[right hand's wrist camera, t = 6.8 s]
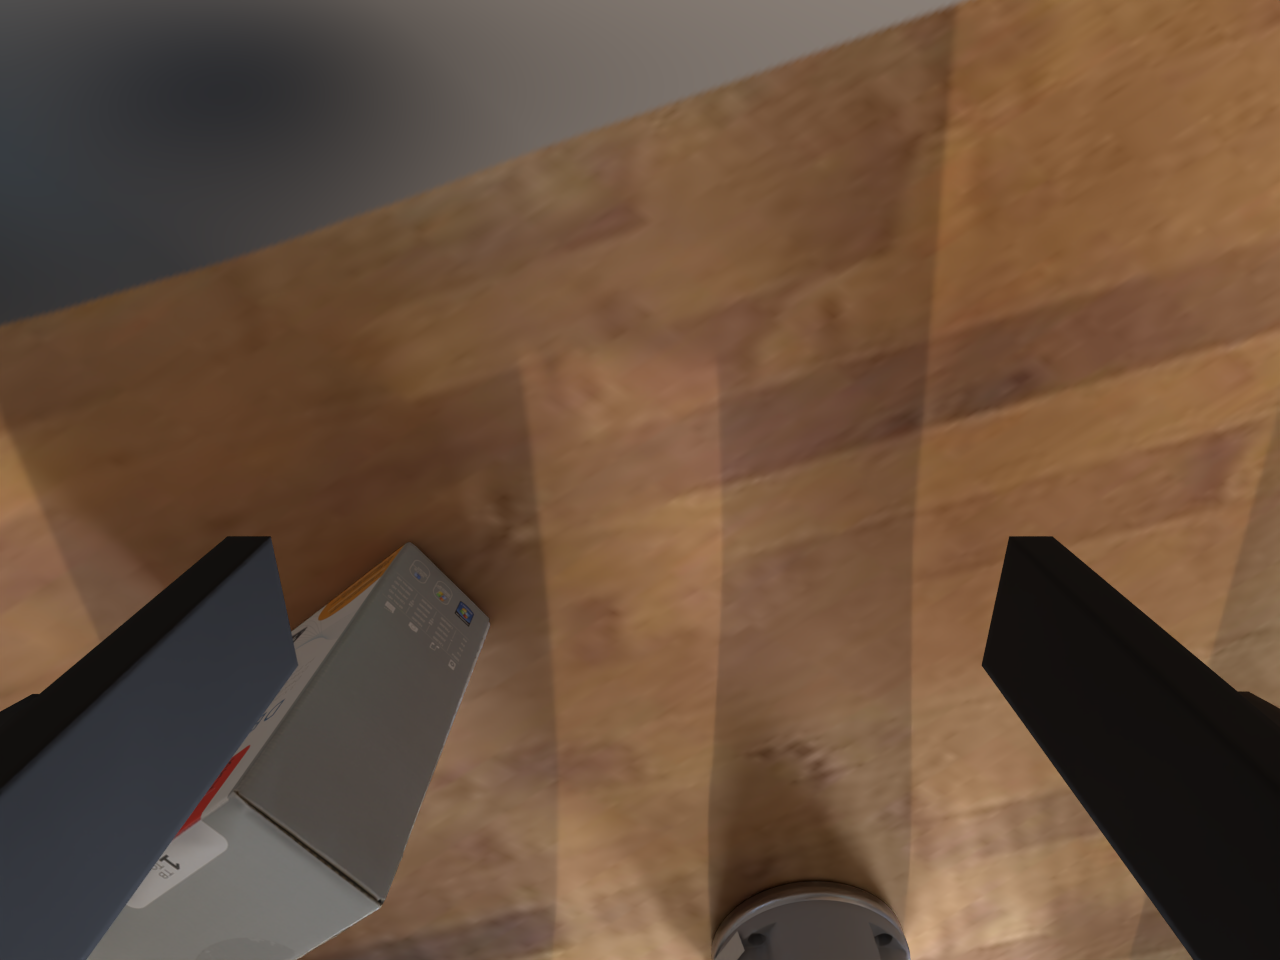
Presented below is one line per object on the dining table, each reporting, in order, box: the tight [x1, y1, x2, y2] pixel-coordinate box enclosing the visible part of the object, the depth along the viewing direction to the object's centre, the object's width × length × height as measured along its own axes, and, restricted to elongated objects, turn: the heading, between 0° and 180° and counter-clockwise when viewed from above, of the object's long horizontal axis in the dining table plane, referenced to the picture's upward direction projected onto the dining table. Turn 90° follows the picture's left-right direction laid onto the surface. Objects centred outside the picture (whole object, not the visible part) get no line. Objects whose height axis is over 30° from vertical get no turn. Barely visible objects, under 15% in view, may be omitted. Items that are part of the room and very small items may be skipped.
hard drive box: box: [87, 542, 490, 960], centre depth 37 cm, size 16×8×20 cm, turn 128°
